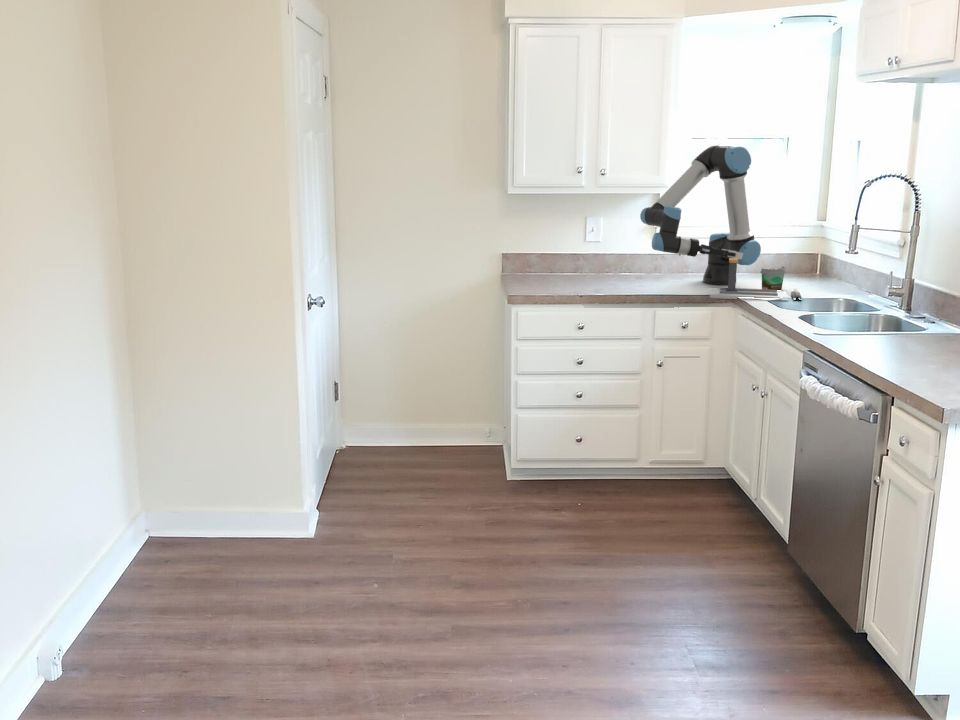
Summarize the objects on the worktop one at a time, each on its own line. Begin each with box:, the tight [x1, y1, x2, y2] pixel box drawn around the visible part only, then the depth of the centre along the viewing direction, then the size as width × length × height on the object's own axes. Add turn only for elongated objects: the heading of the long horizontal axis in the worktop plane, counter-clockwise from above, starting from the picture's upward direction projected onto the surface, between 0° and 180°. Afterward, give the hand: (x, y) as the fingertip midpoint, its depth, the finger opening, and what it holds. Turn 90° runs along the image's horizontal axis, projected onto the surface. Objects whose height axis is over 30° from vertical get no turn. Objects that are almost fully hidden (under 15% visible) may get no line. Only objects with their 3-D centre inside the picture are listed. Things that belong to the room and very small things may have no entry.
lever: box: [724, 258, 738, 292], centre depth 382 cm, size 5×5×14 cm
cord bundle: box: [790, 288, 802, 299], centre depth 378 cm, size 13×4×3 cm, turn 165°
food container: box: [760, 266, 787, 291], centre depth 392 cm, size 12×6×10 cm, turn 112°
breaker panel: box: [709, 287, 789, 300], centre depth 382 cm, size 14×32×2 cm, turn 75°
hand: (738, 255), depth 380 cm, fingers open, 8 cm apart
